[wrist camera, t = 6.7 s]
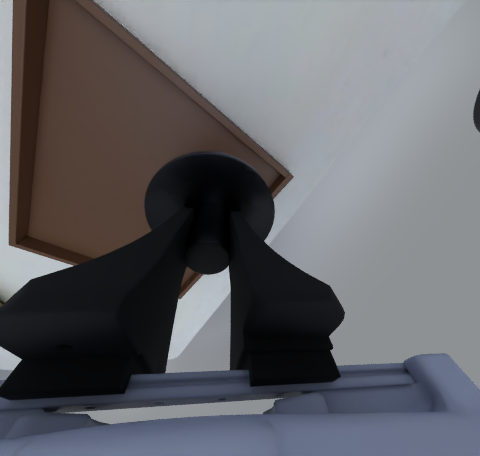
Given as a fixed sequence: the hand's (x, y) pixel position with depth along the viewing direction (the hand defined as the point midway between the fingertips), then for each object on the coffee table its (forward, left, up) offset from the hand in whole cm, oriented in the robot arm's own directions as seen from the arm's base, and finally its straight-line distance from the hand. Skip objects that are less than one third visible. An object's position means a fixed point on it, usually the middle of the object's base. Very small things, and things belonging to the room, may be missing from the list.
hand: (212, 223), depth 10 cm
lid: (0, 0, -1) cm, 1 cm away
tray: (+5, +8, -10) cm, 13 cm away
